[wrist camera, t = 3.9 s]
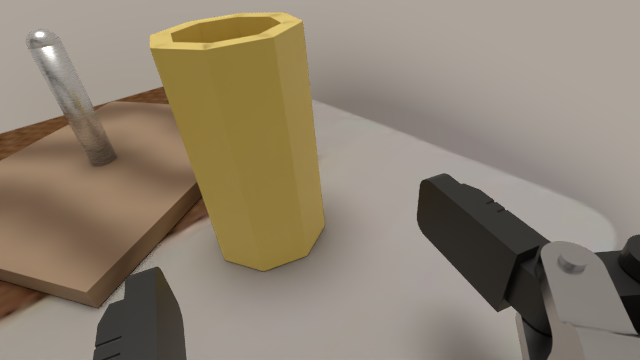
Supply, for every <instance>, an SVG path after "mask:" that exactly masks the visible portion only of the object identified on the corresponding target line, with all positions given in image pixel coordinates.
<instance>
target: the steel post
mask: <svg viewBox="0 0 640 360" xmlns="http://www.w3.org/2000/svg"><path fill="white" fill-rule="evenodd" d="M26 44H27V47H28V49H29V51H30V53H31V55H32V56H33V58H34V60H35V62H36V64H37V66H38V67H39V69H40V71H41V73H42V75H43V77H44V78H45V80H46V82H47V84H48V86H49V87H50V89H51V91H52V93H53V95H54V97H55V98H56V100H57V102H58V104H59V106H60V108H61V110H62V111H63V113H64V115H65V117H66V119H67V121H68V122H69V124H70V126H71V128H72V130H73V132H74V133H75V135H76V137H77V139H78V141H79V143H80V144H81V146H82V148H83V150H84V152H85V154H86V155H87V157H88V159H89V161H90V163H91V165H92V166H104V165H107V164H109V163H111V162H113V161H114V160H116V158H117V154H116V152H115V150H114V148H113V146H112V144H111V142H110V140H109V138H108V136H107V134H106V132H105V130H104V128H103V126H102V124H101V122H100V120H99V117H98V115H97V113H96V111H95V109H94V107H93V105H92V103H91V101H90V99H89V97H88V95H87V93H86V91H85V89H84V87H83V85H82V83H81V81H80V78H79V77H78V74H77V73H76V70H75V68H74V66H73V64H72V62H71V60H70V58H69V56H68V54H67V52H66V50H65V48H64V46H63V44H62V42H61V40H60V38H59V37H58V36H57V35H56V34H54V33H53V32H51V31H49V30H46V29H35V30H33V31H31V32H30V33H29V34H28V35H27V38H26Z"/></svg>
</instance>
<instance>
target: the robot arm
mask: <svg viewBox="0 0 640 360" xmlns="http://www.w3.org/2000/svg"><path fill="white" fill-rule="evenodd" d="M417 221H418V225H419V227H420V230H421V231H422V233H423V234H424V235H425V236H426V237H427V238H428V240H429V241H430V242H431V243H432V244H433V245H434V246H435V247H436V248H437V249H438V250H439V251H440V252H441V253H442V254H443V255H444V256H445V257H446V259H447V260H448V261H449V262H450V263H451V264H452V265H453V266H454V267H455V268H456V269H457V270H458V271H459V272H460V273H461V274H462V275H463V276H464V278H465V279H466V280H467V281H468V282H469V283H470V284H471V285H472V286H473V287H474V288H475V289H476V290H477V291H478V292H479V293H480V294H481V295H482V297H483V298H484V299H485V300H486V301H487V302H488V303H489V304H490V305H491V306H492V307H493V308H494V309H495V310H496V311H497V312H499V311H501V310H503V309H506V308H508V307H510V306H512V307H513V308H514V309H515V310H516V311H517V313H516V317H515V318H516V325H517V330H518V336H519V341H520V347H521V352H522V358H523V360H640V235H635V236H632V237H630V238H629V239H628V241H627V243H626V244H625V246H624V248H623V250H621V251H609V252H597V253H593V252H592V251H590V250H588V249H587V248H584V247H582V246H580V245H577V244H574V243H570V242H563V241H556V242H550V241H549V240H547V239H546V238H544V237H543V236H542V235H540V234H539V233H538V232H536V231H535V230H534V229H532V228H531V227H530V226H528V225H527V224H526V223H524V222H523V221H522V220H520V219H519V218H517V217H516V216H515V215H513V214H512V213H511V212H509V211H508V210H507V211H506V210H505V208H504V207H503V206H501V205H500V204H499V203H497V202H494V200H493V199H492V198H490V197H489V196H488V195H486V194H485V193H484V192H482V191H481V190H479V189H476V188H474V187H471V186H469V185H466V184H460V183H459V182H457V181H456V180H455V179H454V178H452V177H451V176H450V175H448V174H445V173H444V174H440V175H437V176H434V177H431V178H428V179H425V180H423V181H422V182H421V184H420V190H419V200H418V210H417ZM95 347H96V349H95V350H94V357H93V360H186V349H185V338H184V327H183V319H182V314H181V311H180V307H179V305H178V302H177V300H176V298H175V296H174V294H173V292H172V290H171V288H170V286H169V284H168V282H167V281H166V279H165V277H164V275H163V273H162V271H161V269H160V268H159V267H154V268H151V269H148V270H145V271H142V272H139V273H136V274H133V275H130V276H128V277H127V278H126V282H125V295H124V299H123V300H120V301H117V302H114V303H112V304H109V306H108V308H107V309H106V311H105V313H104V315H103V317H102V318H101V320H100V322H99V324H98V327H97V335H96V342H95Z"/></svg>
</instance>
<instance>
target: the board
mask: <svg viewBox="0 0 640 360" xmlns="http://www.w3.org/2000/svg"><path fill="white" fill-rule="evenodd" d="M95 111H96V113H97V115H98V117H99V120H100V122H101V124H102V126H103V128H104V130H105V132H106V134H107V136H108V138H109V140H110V142H111V144H112V146H113V148H114V150H115V152H116V154H117V158H116V160H114V161H113V162H111V163H109V164H107V165H104V166H92V165H91V163H90V161H89V159H88V157H87V155H86V154H85V152H84V150H83V148H82V146H81V144H80V143H79V141H78V139H77V137H76V135H75V133H74V132H73V130H72V128H71V126H70V124H69V125H67V126H65V127H63V128H61V129H59V130H58V131H56V132H54V133H52V134H50V135H48V136H46V137H44V138H43V139H41V140H39V141H37V142H35V143H33V144H31V145H29V146H28V147H26V148H24V149H22V150H20V151H18V152H16V153H14V154H13V155H11V156H9V157H7V158H5V159H3V160H1V161H0V280H3V281H6V282H10V283H13V284H16V285H20V286H23V287H27V288H30V289H34V290H37V291H41V292H44V293H48V294H51V295H54V296H58V297H61V298H65V299H68V300H72V301H75V302H79V303H82V304H86V305H89V306H93V307H96V308H99V307H100V305H101V304H102V303H103V302H104V301H105V300H106V299H107V298H108V297H109V296H110V295H111V294H112V293H113V291H114V290H115V289H116V288H117V287H118V286H119V285H120V284H121V283H122V282H123V281H124V280H125V279H126V277H127V276H128V275H129V274H130V273H131V272H132V271H133V270H134V269H135V268H136V267H137V266H138V265H139V263H140V262H141V261H142V260H143V259H144V258H145V257H146V256H147V255H148V254H149V253H150V252H151V251H152V249H153V248H154V247H155V246H156V245H157V244H158V243H159V242H160V241H161V240H162V239H163V238H164V237H165V235H166V234H167V233H168V232H169V231H170V230H171V229H172V228H173V227H174V226H175V225H176V224H177V223H178V221H179V220H180V219H181V218H182V217H183V216H184V215H185V214H186V213H187V212H188V211H189V210H190V209H191V207H192V206H193V205H194V204H195V203H196V202H197V201H198V200H199V199H200V198H201V197H202V194H201V191H200V188H199V185H198V183H197V180H196V177H195V174H194V171H193V168H192V166H191V163H190V160H189V157H188V154H187V152H186V149H185V146H184V143H183V140H182V137H181V135H180V132H179V129H178V126H177V123H176V120H175V118H174V115H173V112H172V109H171V106H170V105H169V104H151V103H134V102H116V101H112V102H110V103H108V104H106V105H104V106H103V107H101V108H99V109H97V110H95Z"/></svg>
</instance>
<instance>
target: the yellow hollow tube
mask: <svg viewBox="0 0 640 360" xmlns="http://www.w3.org/2000/svg"><path fill="white" fill-rule="evenodd" d="M150 49H151V52H152V55H153V58H154V61H155V64H156V66H157V69H158V72H159V75H160V78H161V81H162V83H163V86H164V89H165V92H166V95H167V98H168V101H169V103H170V106H171V109H172V112H173V115H174V118H175V120H176V123H177V126H178V129H179V132H180V135H181V137H182V140H183V143H184V146H185V149H186V152H187V154H188V157H189V160H190V163H191V166H192V168H193V171H194V174H195V177H196V180H197V183H198V185H199V188H200V191H201V194H202V197H203V200H204V202H205V205H206V208H207V211H208V214H209V217H210V219H211V222H212V225H213V228H214V231H215V234H216V236H217V239H218V242H219V245H220V248H221V251H222V253H223V256H224V259H225V260H226V261H230V262H233V263H236V264H240V265H243V266H247V267H250V268H253V269H257V270H260V271H266V270H269V269H272V268H275V267H277V266H280V265H283V264H286V263H288V262H291V261H294V260H297V259H300V258H302V257H305V256H308V254H309V252H310V251H311V249H312V247H313V245H314V244H315V242H316V240H317V239H318V237H319V235H320V233H321V232H322V230H323V228H324V226H325V222H324V213H323V203H322V194H321V185H320V175H319V166H318V157H317V148H316V138H315V129H314V120H313V110H312V101H311V92H310V83H309V74H308V65H307V55H306V45H305V37H304V27H303V21H302V20H300V19H298V18H295V17H293V16H291V15H289V14H287V13H238V14H232V15H226V16H220V17H214V18H208V19H201V20H196V21H189V22H186V23H183V24H181V25H178V26H175V27H172V28H169V29H167V30H164V31H161V32H158V33H155V34H152V35H150Z"/></svg>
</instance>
